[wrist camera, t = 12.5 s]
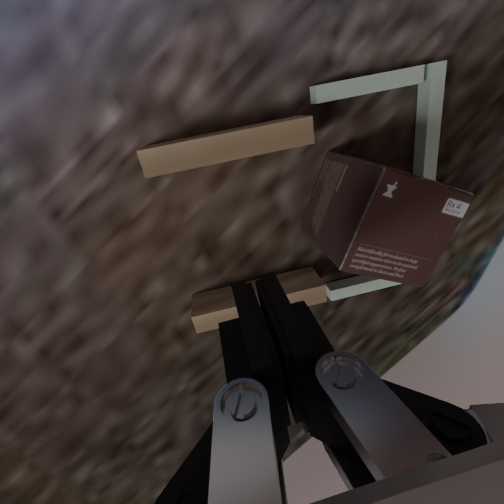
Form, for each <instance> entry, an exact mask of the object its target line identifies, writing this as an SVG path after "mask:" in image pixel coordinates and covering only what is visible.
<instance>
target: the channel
mask: <svg viewBox="0 0 504 504" xmlns="http://www.w3.org/2000/svg"><path fill="white" fill-rule="evenodd" d="M314 143H315V141H314V128H313V116H292V117H287V118H282V119H277V120H272V121H267V122H262V123H257V124H252V125H247V126H242V127H237V128H232V129H227V130H222V131H217V132H212V133H207V134H202V135H197V136H192V137H187V138H182V139H177V140H172V141H167V142H162V143H157V144H152V145H147V146H144V147H142V148H141V149H139V150H137V154H138V157H139V160H140V163H141V166H142V169H143V172H144V176H145V178H150V177H155V176H159V175H164V174H169V173H174V172H179V171H184V170H188V169H193V168H198V167H203V166H208V165H212V164H217V163H222V162H227V161H232V160H237V159H241V158H246V157H251V156H256V155H261V154H265V153H270V152H275V151H280V150H285V149H290V148H294V147H299V146H304V145H309V144H314ZM276 277H277V278H278V280H279V282H280V284H281V286H282V288H283V290H284V292H285V294H286V296H287V297H288V299H289V301H290V303H295V302H299V301H305V303H306V304H307V306H310V305H314V304H319V303H323V302H327V297H326V285H325V283H324V282H323V281H322V279H321V278H320V277H319V275H318V274H317V273H316V271H315V270H314V269H313V267H312V266H311V267H307V268H303V269H298V270H294V271H290V272H286V273H281V274H277V275H276ZM256 280H260V279H256ZM256 280H252V281H248V282H246V283H249V282H251V283H252V286H253V289H254V291H255V294H256V297H257V299H258V294H257V288H256V283H255V281H256ZM258 302H259V299H258ZM259 305H260V304H259ZM191 318H192V321H193V324H194V327H195V330H196V333H201V332H205V331H209V330H213V329H217V328H219V325H218V323H220V322H224V321H228V320H231V319H235V318H239V316H238V312H237V308H236V304H235V300H234V296H233V292H232V288H231V286H227V287H222V288H218V289H214V290H210V291H205V292H201V293H197V294H193V295H192V317H191Z"/></svg>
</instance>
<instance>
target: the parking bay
mask: <svg viewBox="0 0 504 504" xmlns="http://www.w3.org/2000/svg"><path fill="white" fill-rule="evenodd" d="M446 67H447V60H445V61H440V62H435V63H430V64H424V65H419V66H414V67H409V68H404V69H399V70H393V71H388V72H383V73H378V74H373V75H367V76H362V77H357V78H352V79H347V80H342V81H336V82H331V83H326V84H321V85H316V86H312V87H310V99H311V104H318V103H324V102H329V101H334V100H339V99H344V98H349V97H354V96H359V95H364V94H369V93H374V92H379V91H384V90H389V89H394V88H399V87H404V86H409V85H414V84H418V96H417V112H416V127H415V143H414V159H413V174H415V175H418V176H422V177H424V178H427V179H432V180H436V170H437V159H438V149H439V139H440V128H441V118H442V108H443V98H444V87H445V77H446ZM398 284H402V283H398V282H393V281H387V280H383V279H377V278H373V277H368V276H363V275H359V276H355V277H351V278H347V279H343V280H338V281H334V282H330V283H326V284H325V285H326V295H327V296H328V297H329V299H330V300H331V301H334V300H338V299H342V298H346V297H350V296H354V295H358V294H362V293H366V292H370V291H374V290H378V289H382V288H386V287H390V286H394V285H398Z"/></svg>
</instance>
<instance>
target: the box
mask: <svg viewBox="0 0 504 504" xmlns="http://www.w3.org/2000/svg"><path fill="white" fill-rule="evenodd" d="M473 196H474V194H473V193H471V192H467V191H464V190H462V189H459V188H455V187H452V186H449V185H446V184H443V183H440V182H437V181H435V180H432V179H427V178H424V177H422V176H418V175H415V174H412V173H409V172H406V171H403V170H400V169H397V168H394V167H390V166H387V165H383V164H379V163H375V162H372V161H368V160H365V159H361V158H357V157H354V156H350V155H345V154H341V153H337V152H334V151H328V152H327V154H326V157H325V160H324V163H323V165H322V168H321V171H320V174H319V176H318V180H317V182H316V185H315V188H314V191H313V193H312V196H311V199H310V202H309V204H308V207H307V210H306V213H305V216H304V218H303V221H302V224H301V229H302V230H303V231H304V232H305V233H306V234H307V235H308V236H309V237H310V238H311V239H312V240H313V242H314V243H315V244H316V245H317V246H318V247H319V248H320V249H321V250H322V251H323V252H324V253H325V254H326V255H327V256H328V257H329V259H330V260H331V261H333V262H334V263H335V265H336V266H337V267H338V269H339V270H341V271H344V272H349V273H353V274H358V275H363V276H368V277H373V278H377V279H383V280H387V281H393V282H398V283H403V284H407V285H413V286H418V287H423V286H424V285H425V283H426V281H427V279H428V278H429V276H430V274H431V272H432V270H433V269H434V267H435V265H436V263H437V262H438V260H439V258H440V256H441V254H442V252H443V251H444V249H445V247H446V245H447V244H448V242H449V240H450V238H451V237H452V235H453V233H454V232H455V230H456V228H457V226H458V225H459V223H460V221H461V219H462V218H463V216H464V214H465V212H466V210H467V208H468V207H469V205H470V203H471V200H472V198H473Z"/></svg>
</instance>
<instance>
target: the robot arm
mask: <svg viewBox="0 0 504 504" xmlns="http://www.w3.org/2000/svg"><path fill="white" fill-rule="evenodd" d="M255 283H256V288H257V294H258V299H259V302H258V299H257V297H256V294H255V291H254V289H253V286H252V283H251V282H249V283H246V282H245V280H241V281H237V282H233V283H230V284H231V288H232V292H233V296H234V300H235V304H236V308H237V312H238V316H239V318H235V319H231V320H228V321H224V322H220V323H218V325H219V332H220V339H221V345H222V352H223V359H224V365H225V372H226V378H227V384H226V385H225V386H224V387H223V388H222V389H221V390H220V392H219V393H218V395H217V397H216V400H215V405H214V418H213V423H212V424H211V425H210V427H209V428H208V429H207V431H206V432H205V434H204V435H203V436H202V438H201V439H200V440H199V442H198V443H197V445H196V446H195V447H194V449H193V450H192V451H191V453H190V454H189V456H188V457H187V458H186V460H185V461H184V462H183V464H182V465H181V466H180V468H179V469H178V471H177V472H176V473H175V475H174V476H173V477H172V479H171V480H170V482H169V483H168V484H167V486H166V487H165V488H164V490H163V491H162V493H161V494H160V495H159V497H158V498H157V500H156V502H155V503H154V504H288V500H287V493H286V485H285V477H284V470H283V462H282V457H283V455H284V453H285V451H286V449H287V447H288V445H289V443H290V440H289V434H288V429H287V427H288V426H291V422H290V417H289V411H288V405H287V400H288V403H289V406H290V409H291V412H292V415H293V417H294V420H295V423H296V424H298V423H301V422H302V424H303V427H304V430H305V432H306V433H308V432H310V435H311V436H312V437H315V438H316V439H318V440H320V441H322V443H323V445H324V448H325V450H326V452H327V453H328V455H329V457H330V459H331V460H332V462H333V464H334V466H335V468H336V469H337V471H338V473H339V475H340V476H341V478H342V480H343V481H344V483H345V485H346V487H347V488H348V490H349V491H346V492H343V493H340V494H337V495H334V496H331V497H329V498H325V499H323V500H320V501H317V502H314V503H311V504H504V403H495V404H479V405H470V408H469V409H462V408H460V407H457V406H455V405H453V404H451V403H448V402H445V401H442V400H439V399H437V398H434V397H431V396H428V395H425V394H423V393H420V392H416V391H414V390H411V389H408V388H405V387H403V386H400V385H397V384H394V383H391V382H389V381H386V380H382V379H381V378H380V377H379V376H378V375H377V374H376V373H375V372H374V371H373V370H372V369H371V368H370V367H369V366H368V364H367V363H366V362H365V361H364V360H362V359H361V358H360V357H359V356H357V355H355V354H353V353H350V352H346V351H335V350H334V349H333V347H332V345H331V344H330V342H329V340H328V339H327V337H326V335H325V334H324V332H323V330H322V329H321V327H320V325H319V324H318V322H317V320H316V319H315V317H314V316H313V314H312V312H311V311H310V309H309V307H308V306H307V304H306V303H305V301H299V302H295V303H290V301H289V299H288V297H287V296H286V294H285V292H284V290H283V288H282V286H281V284H280V282H279V280H278V278H277V277H276V275H275V273H274V272H272V273H268V274H264V275H260V280H256V281H255ZM259 304H260V305H259ZM286 397H287V399H286Z"/></svg>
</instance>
